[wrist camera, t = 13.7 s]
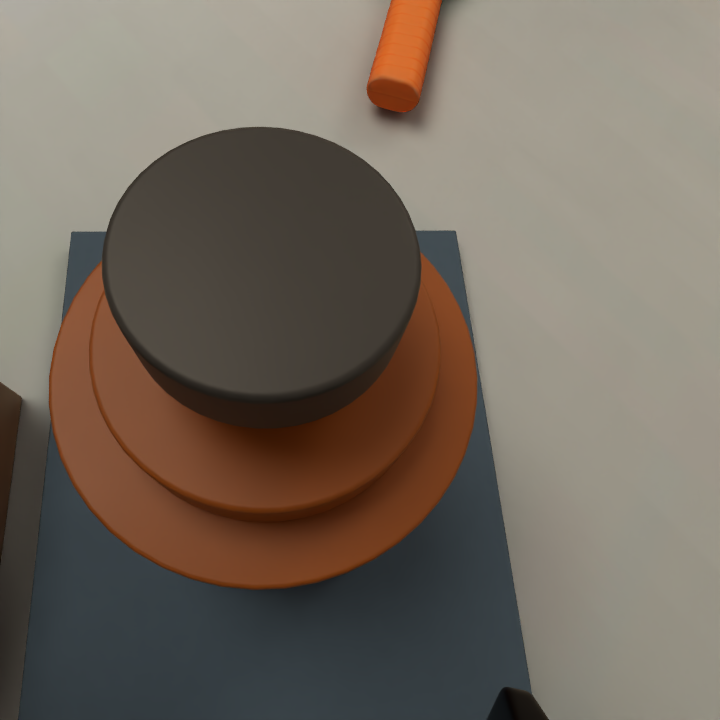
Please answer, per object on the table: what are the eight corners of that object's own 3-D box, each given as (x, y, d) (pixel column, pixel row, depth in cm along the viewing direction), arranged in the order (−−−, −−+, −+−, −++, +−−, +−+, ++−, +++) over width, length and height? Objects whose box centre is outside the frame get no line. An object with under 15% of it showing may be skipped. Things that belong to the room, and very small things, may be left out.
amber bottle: (332, 629, 14) (448, 735, 4) (117, 525, 15) (-266, 386, 4) (421, 418, 17) (634, 154, 6) (233, 331, 17) (153, -55, 7)
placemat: (534, 758, 14) (544, 765, 14) (16, 830, 13) (3, 841, 12) (451, 240, 20) (456, 229, 19) (77, 242, 18) (70, 230, 17)
